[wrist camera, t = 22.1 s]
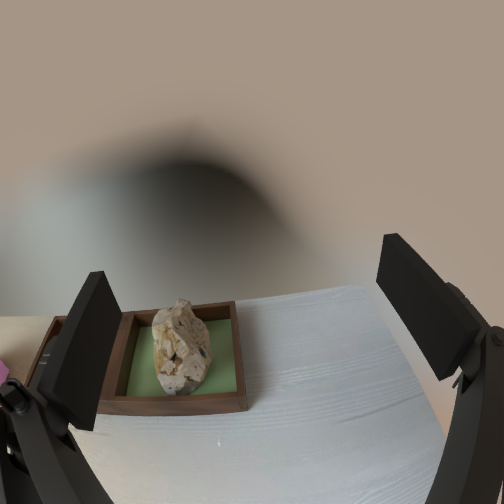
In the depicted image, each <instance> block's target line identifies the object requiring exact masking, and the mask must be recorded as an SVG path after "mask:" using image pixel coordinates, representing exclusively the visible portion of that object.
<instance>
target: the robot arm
mask: <svg viewBox="0 0 504 504" xmlns="http://www.w3.org/2000/svg"><path fill="white" fill-rule="evenodd" d="M376 282H377V284H378V285H379V286H380V288H381V289H382V291H383V292H384V294H385V295H386V297H387V298H388V300H389V301H390V302H391V304H392V306H393V307H394V309H395V310H396V312H397V313H398V314H399V316H400V318H401V319H402V321H403V322H404V324H405V325H406V327H407V329H408V330H409V332H410V333H411V335H412V336H413V338H414V340H415V341H416V343H417V344H418V346H419V348H420V349H421V351H422V353H423V354H424V356H425V358H426V359H427V361H428V363H429V365H430V366H431V368H432V369H433V371H434V373H435V375H436V377H437V378H438V380H439V381H441V380H443V379H445V378H447V377H450V376H452V375H453V374H454V373H455V371H456V370H457V368H458V367H459V366H460V368H461V369H462V372H461V374H460V375H459V377H458V378H457V380H456V381H455V382H454V384H453V386H452V388H455V387H456V385H457V384H458V383H459V384H458V388H457V389H458V390H457V397H456V401H455V406H454V411H453V416H452V421H451V425H450V429H449V433H448V437H447V441H446V444H445V448H444V451H443V455H442V458H441V461H440V464H439V467H438V470H437V473H436V476H435V479H434V482H433V485H432V487H431V490H430V492H429V495H428V497H427V500H426V502H425V504H496V503H497V500H498V496H499V493H500V489H501V485H502V481H503V488H502V501H501V504H504V329H503V328H501V327H498V326H493V327H491V326H490V325H489V324H488V323H487V322H486V320H485V319H484V318H483V317H482V315H481V314H480V313H479V312H478V311H477V309H476V308H475V307H474V306H473V305H472V304H471V303H470V301H469V300H468V299H467V298H465V295H464V294H463V293H462V292H461V291H460V290H459V289H458V288H457V287H455V286H454V285H452V284H451V283H449V282H448V283H445V282H444V281H443V280H442V279H441V278H440V277H439V276H438V275H437V273H436V272H435V271H434V270H433V269H432V268H431V267H430V266H429V265H428V264H427V263H426V262H425V261H424V260H423V259H422V258H421V257H420V255H419V254H418V253H417V252H416V251H415V250H414V249H413V248H412V247H411V246H410V245H409V244H408V243H407V242H406V241H405V240H404V239H402V237H400V235H398V234H397V233H394V234H386V235H384V238H383V245H382V251H381V257H380V263H379V268H378V273H377V279H376ZM122 316H123V314H122V312H121V310H120V308H119V306H118V304H117V301H116V299H115V297H114V295H113V292H112V290H111V287H110V285H109V283H108V280H107V278H106V275H105V273H104V271H98V272H90V274H89V275H88V278H87V279H86V281H85V283H84V285H83V286H82V289H81V290H80V292H79V294H78V296H77V298H76V300H75V302H74V304H73V306H72V308H71V310H70V312H69V314H68V316H67V318H66V320H65V322H64V324H63V326H62V328H61V330H60V333H59V335H58V336H53V338H52V339H51V340H50V341H49V342H48V343H47V345H46V347H45V349H44V351H43V354H42V356H41V358H40V360H39V364H38V365H37V368H36V370H35V373H34V375H33V378H32V380H31V383H30V385H29V388H28V390H27V389H26V388H25V387H24V386H23V385H22V383H21V382H20V381H19V380H17V379H16V378H10V379H8V380H6V381H4V382H3V383H2V384H1V386H0V404H1V405H2V406H3V407H0V504H114V503H113V501H112V500H111V499H110V497H109V496H108V494H107V493H106V491H105V490H104V488H103V487H102V485H101V484H100V482H99V481H98V479H97V478H96V476H95V474H94V473H93V471H92V469H91V468H90V466H89V464H88V463H87V461H86V459H85V457H84V456H83V454H82V452H81V450H80V448H79V446H78V445H77V443H76V441H75V439H74V437H73V435H72V433H71V432H70V430H69V429H68V425H69V422H70V423H71V424H72V425H73V426H74V427H75V428H76V429H79V430H86V431H93V428H94V423H95V418H96V413H97V409H98V404H99V400H100V395H101V391H102V387H103V383H104V379H105V375H106V371H107V367H108V363H109V360H110V356H111V352H112V349H113V345H114V342H115V339H116V335H117V332H118V329H119V325H120V322H121V319H122ZM7 447H9V448H10V451H11V452H10V454H9V453H7Z"/></svg>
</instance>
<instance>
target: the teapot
mask: <svg viewBox="0 0 504 504" xmlns="http://www.w3.org/2000/svg"><path fill="white" fill-rule="evenodd" d="M8 373H9V369H8V368H7V367H6V366H5V364H4V363H3V362H2V361H1V359H0V386H1V384H2V383H3V382H4V381H6V380H7V378H6V377H7V375H8Z"/></svg>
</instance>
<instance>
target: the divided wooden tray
mask: <svg viewBox="0 0 504 504" xmlns="http://www.w3.org/2000/svg"><path fill="white" fill-rule="evenodd" d="M170 309H172V308H170ZM159 310H161V309H154V310H143V311H131V312H122V314H123V316H122V319H121V322H120V325H119V329H118V332H117V335H116V339H115V342H114V345H113V349H112V352H111V356H110V360H109V363H108V367H107V371H106V375H105V379H104V383H103V387H102V391H101V395H100V400H99V404H98V409H97V414H110V415H127V416H192V415H210V414H223V413H233V412H243V411H248V407H247V398H246V390H245V382H244V373H243V364H242V355H241V346H240V337H239V328H238V318H237V312H236V306H235V301H230V302H221V303H212V304H203V305H194V306H191V310H192V312H193V313H194V315H195V317H196V318H198V319H200V320H202V322H203V323H204V324H205V325H206V328H207V330H208V331H209V340H210V348H211V351H212V353H213V354H214V355H213V361H212V362H211V363H210V366H209V368H208V370H207V374H206V375H205V378H204V380H203V381H202V382H201V385H200V386H199V387H196V388H195V389H194V391H192V392H190V393H189V394H187V395H186V396H168V395H167V394H166V392H165V390H164V389H163V387H162V385H161V383H160V381H159V380H158V378H157V371H156V369H155V366H154V365H155V357H154V337H153V334H152V323H153V320H154V317H155V315H156V314H157V313H158V311H159ZM66 318H67V316H55V317H54V319H53V321H52V323H51V325H50V327H49V329H48V331H47V333H46V335H45V337H44V339H43V341H42V344H41V346H40V348H39V350H38V352H37V355H36V357H35V359H34V361H33V364H32V366H31V368H30V371H29V373H28V376H27V378H26V381H25V383H24V387H25V388H26V389H27V390H28V388H29V385H30V383H31V380H32V378H33V375H34V373H35V370H36V368H37V365H38V364H39V360H40V358H41V356H42V354H43V351H44V349H45V347H46V345H47V343H48V342H49V341H50V340H51V339H52V338H53V336H58V335H59V333H60V330H61V328H62V326H63V324H64V322H65V320H66Z"/></svg>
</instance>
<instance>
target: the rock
mask: <svg viewBox="0 0 504 504" xmlns="http://www.w3.org/2000/svg"><path fill="white" fill-rule="evenodd" d="M152 334H153V337H154V357H155V365H154V366H155V369H156V371H157V378H158V380H159V381H160V383H161V385H162V387H163V389H164V390H165V392H166V394H167V395H168V396H186V395H187V394H189V393H190V392H192V391H194V389H195V388H196V387H199V386H200V385H201V382H202V381H203V380H204V378H205V375H206V374H207V370H208V368H209V366H210V363H211V362H212V361H213V355H214V354H213V353H212V351H211V348H210V340H209V331H208V330H207V328H206V325H205V324H204V323H203V322H202V320H200V319H198V318H196V317H195V315H194V313H193V312H192V310H191V303H190V301H186V300H183V299H178V301H177V303H176V304H175V306H174V307H172V309H170V308H164V309H161V310H159V311H158V313H157V314H156V315H155V317H154V320H153V323H152Z"/></svg>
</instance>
